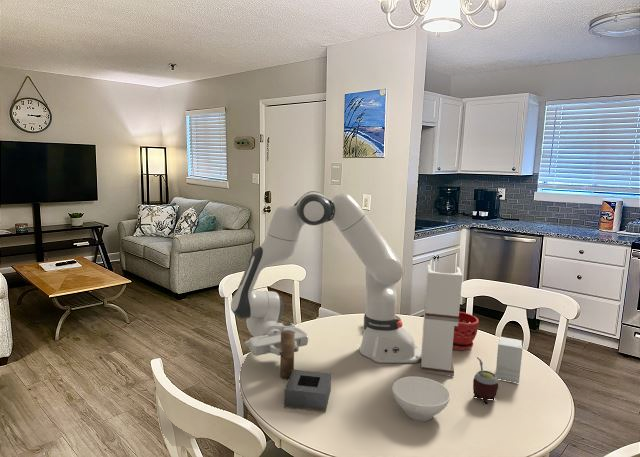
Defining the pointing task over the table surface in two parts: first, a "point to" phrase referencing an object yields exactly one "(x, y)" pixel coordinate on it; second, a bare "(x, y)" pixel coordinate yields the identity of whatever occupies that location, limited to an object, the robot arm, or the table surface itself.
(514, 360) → the supplement box
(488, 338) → the table surface
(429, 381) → the bowl
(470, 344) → the plant pot
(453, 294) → the striped white pillar
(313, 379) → the socket block
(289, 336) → the walnut pin
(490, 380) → the mate gourd
